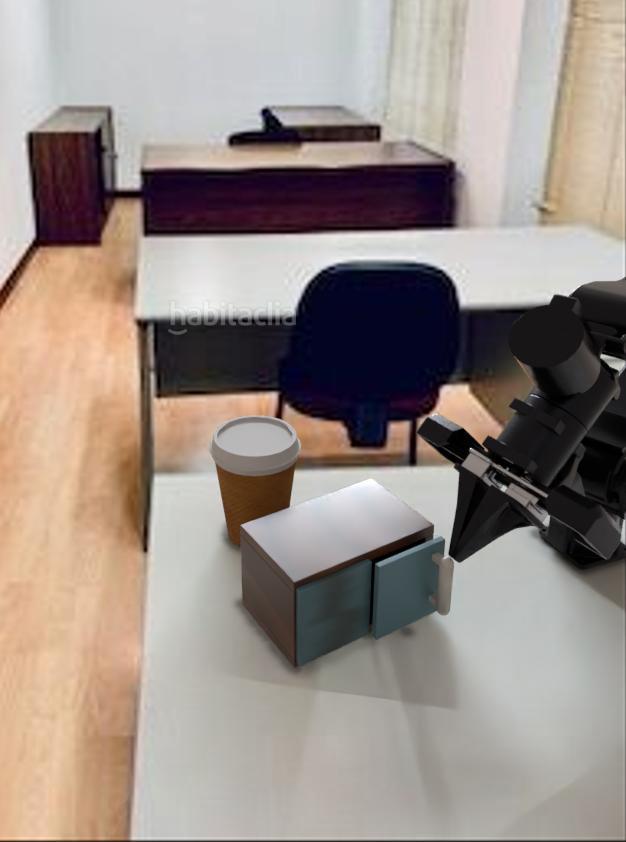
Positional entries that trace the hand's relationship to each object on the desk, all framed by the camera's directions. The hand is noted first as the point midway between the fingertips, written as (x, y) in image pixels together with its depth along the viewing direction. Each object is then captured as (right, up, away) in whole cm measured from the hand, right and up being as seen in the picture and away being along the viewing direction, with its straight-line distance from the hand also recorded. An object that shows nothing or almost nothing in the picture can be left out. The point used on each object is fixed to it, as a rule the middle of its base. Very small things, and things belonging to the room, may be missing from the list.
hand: (453, 559), depth 66 cm
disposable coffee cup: (-16, -3, +17) cm, 24 cm away
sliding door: (-3, -7, +2) cm, 8 cm away
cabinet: (-9, -6, +6) cm, 13 cm away
